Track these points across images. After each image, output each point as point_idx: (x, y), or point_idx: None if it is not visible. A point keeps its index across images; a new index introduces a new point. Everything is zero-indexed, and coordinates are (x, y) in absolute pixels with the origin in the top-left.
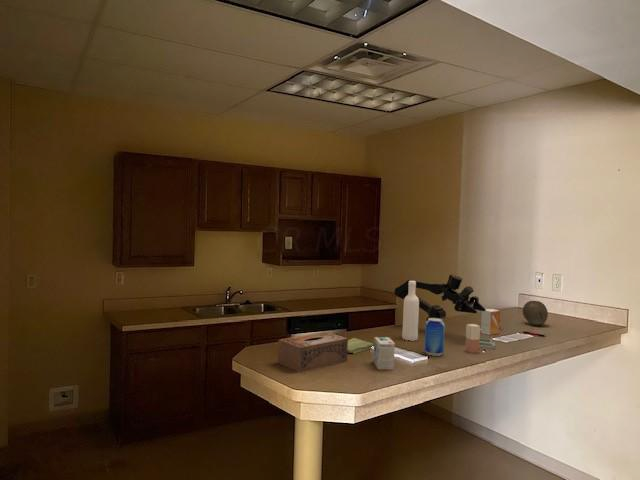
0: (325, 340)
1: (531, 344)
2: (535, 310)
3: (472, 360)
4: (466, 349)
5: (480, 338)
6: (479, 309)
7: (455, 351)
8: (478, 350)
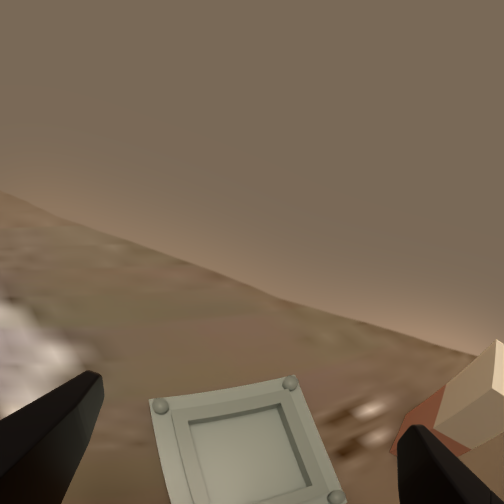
0: None
1: (69, 257)
2: None
3: None
4: None
5: (194, 480)
6: (64, 480)
7: None
8: (413, 411)
